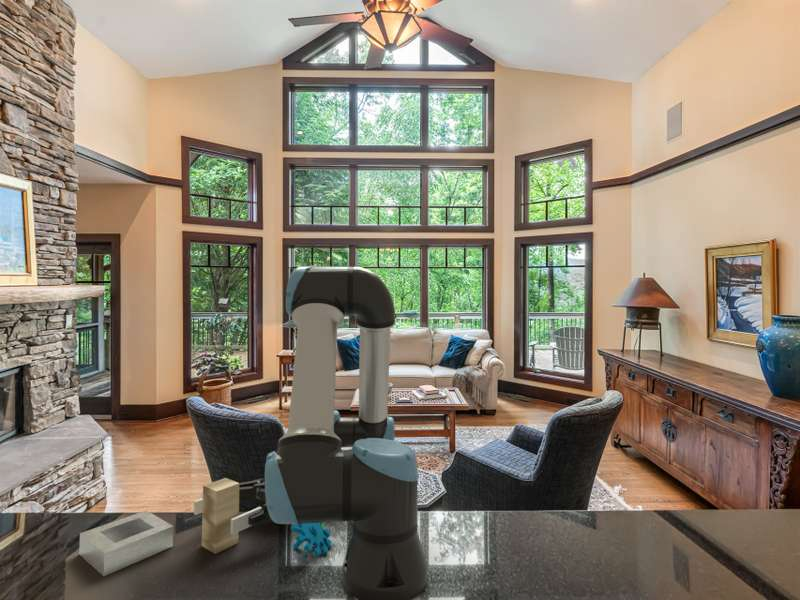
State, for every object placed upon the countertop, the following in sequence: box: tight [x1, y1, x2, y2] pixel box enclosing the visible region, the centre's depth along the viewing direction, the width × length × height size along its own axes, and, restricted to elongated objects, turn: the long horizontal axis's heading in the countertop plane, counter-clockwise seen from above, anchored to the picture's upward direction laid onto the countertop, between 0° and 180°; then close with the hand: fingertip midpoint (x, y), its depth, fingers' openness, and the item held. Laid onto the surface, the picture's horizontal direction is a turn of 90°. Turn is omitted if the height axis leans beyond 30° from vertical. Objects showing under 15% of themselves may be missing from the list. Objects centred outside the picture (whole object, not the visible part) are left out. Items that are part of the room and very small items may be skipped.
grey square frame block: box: [78, 510, 174, 577], centre depth 82 cm, size 12×12×4 cm
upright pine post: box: [201, 477, 240, 555], centre depth 84 cm, size 5×5×12 cm
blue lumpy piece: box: [290, 522, 332, 557], centre depth 83 cm, size 11×6×10 cm
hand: (212, 517), depth 83 cm, fingers open, 13 cm apart
